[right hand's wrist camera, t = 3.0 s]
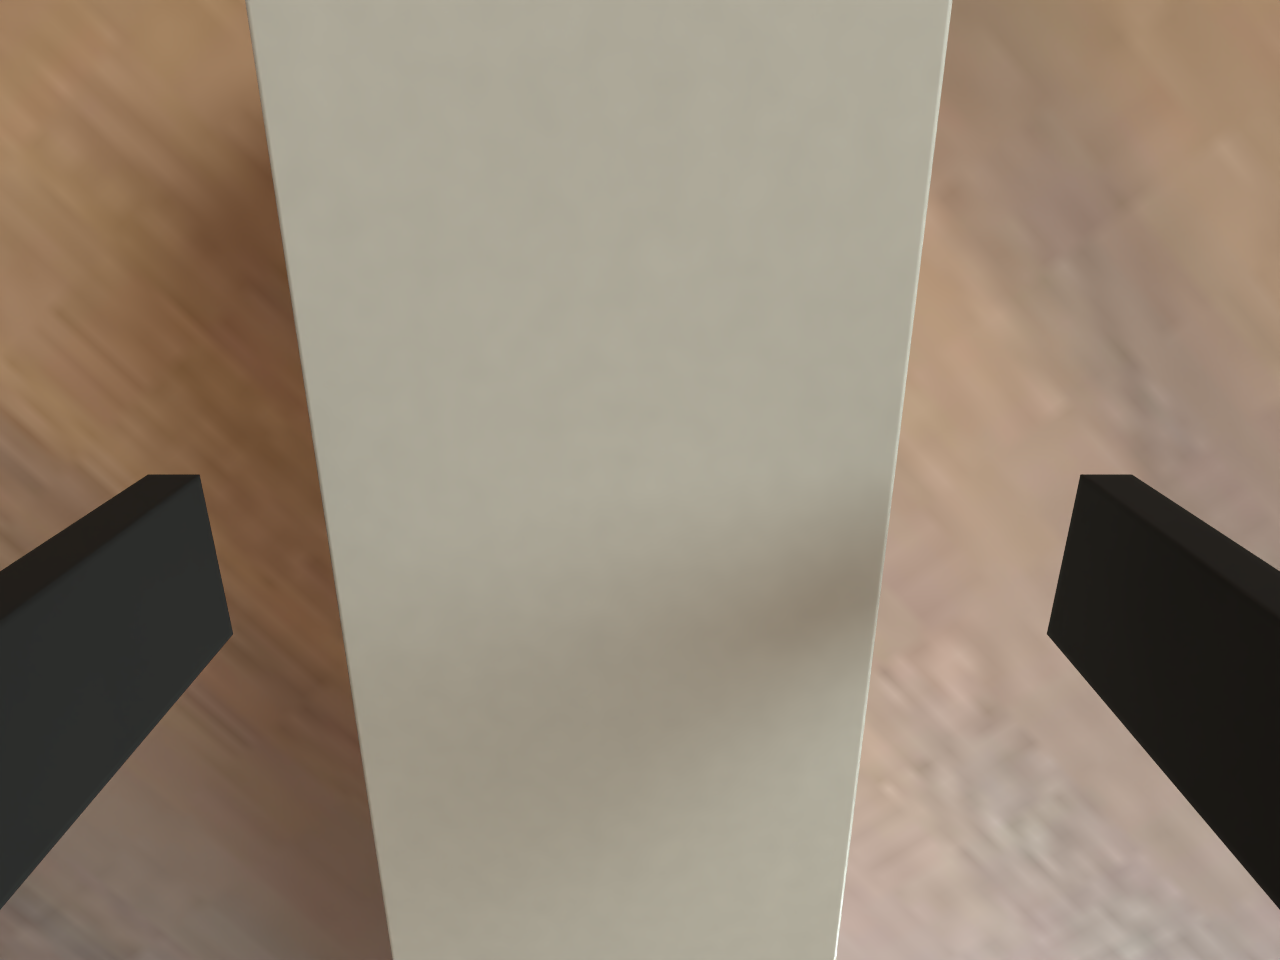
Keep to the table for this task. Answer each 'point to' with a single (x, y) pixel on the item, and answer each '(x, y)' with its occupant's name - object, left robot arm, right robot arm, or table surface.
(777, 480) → the wide beam
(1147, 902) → the table surface
